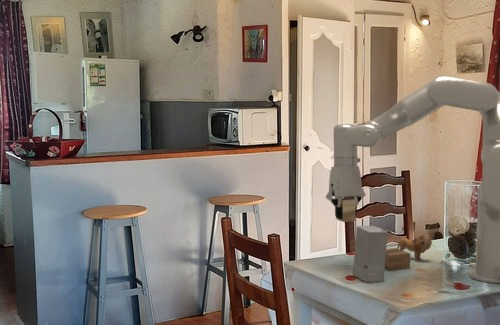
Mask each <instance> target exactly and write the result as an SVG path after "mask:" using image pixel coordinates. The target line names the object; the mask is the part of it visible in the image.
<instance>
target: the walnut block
mask: <svg viewBox="0 0 500 325" xmlns="http://www.w3.org/2000/svg"><path fill="white" fill-rule="evenodd" d="M410 268H411V252H407V251H404V250H400V248H399V249H397V247H393V248H386V257H385V269H384V270H385V271H386V270H387V271H388V272H389V271H399V270H408V269H410Z"/></svg>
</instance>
